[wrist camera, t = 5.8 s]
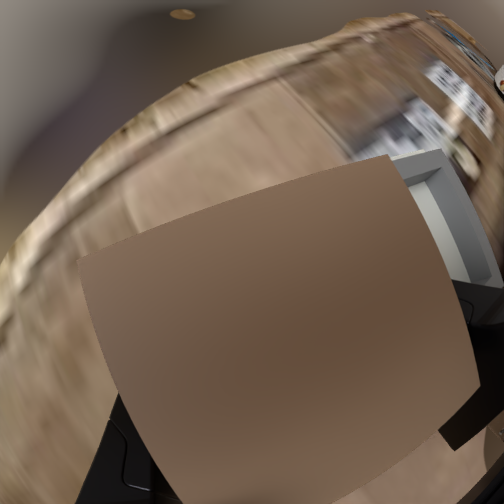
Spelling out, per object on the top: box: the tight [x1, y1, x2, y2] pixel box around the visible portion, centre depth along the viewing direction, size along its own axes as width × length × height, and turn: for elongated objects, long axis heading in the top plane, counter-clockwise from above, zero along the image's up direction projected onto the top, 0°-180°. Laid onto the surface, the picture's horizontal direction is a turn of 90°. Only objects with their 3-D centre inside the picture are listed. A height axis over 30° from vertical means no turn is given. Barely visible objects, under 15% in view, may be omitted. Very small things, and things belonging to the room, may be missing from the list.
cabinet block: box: [76, 154, 480, 504], centre depth 7 cm, size 4×5×8 cm
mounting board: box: [390, 149, 504, 288], centre depth 13 cm, size 12×22×5 cm, turn 113°
